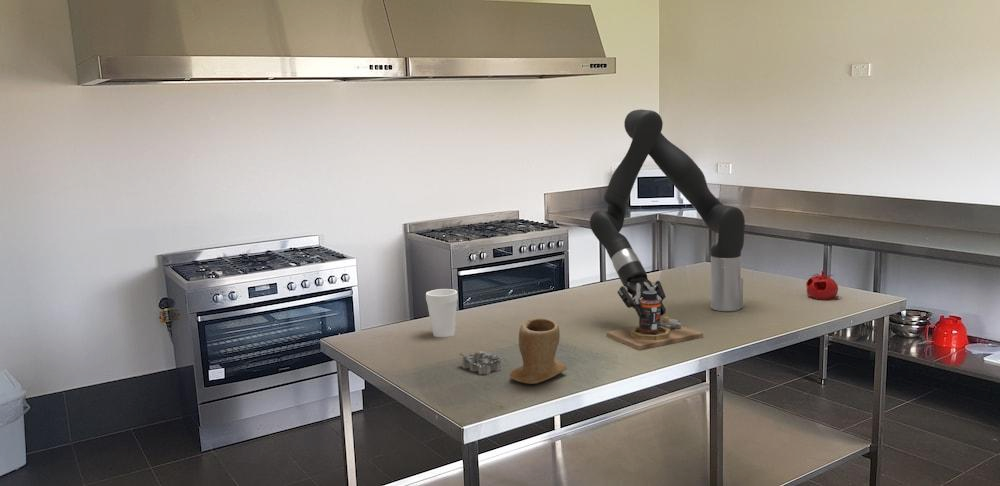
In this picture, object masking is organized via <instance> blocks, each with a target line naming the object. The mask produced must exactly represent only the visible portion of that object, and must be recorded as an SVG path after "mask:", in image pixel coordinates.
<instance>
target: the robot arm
mask: <svg viewBox="0 0 1000 486" xmlns="http://www.w3.org/2000/svg"><path fill="white" fill-rule="evenodd" d="M663 123H664V122H663V119H662V117H661V115H660V114H659V113H658V112H656V111H655V110H650V109H641V108H640V109H635V110H632V111H630V112H629V113H628V114H626V117H625V119H624V130H625V132H626V134H627V135H628V137H630V139H631V142H630V146H629V148H628V150H627V152H626V154H625V156H624V157H623V159H622V160H621V162H620V163H619V164H618V166H617V167H616V169H615V170H614V172H613V174H612V175H611V178H610V179H609V183H608V185H607V188H606V191H605V193H604V197H603V200H604V202H605V203H606V204H607V209H606V211H605V210H597V211H595V212H593V213H592V214H591V215H590V217H589V225H590V229H591V232H592V234H593V235H594V236H595V238H596V239H597V240H598V241H599V243H600V244H601V246H603V248H605V250H606V252H607V254H608V256H609V258H610V260H611V262H612V265H613V268H614V270H615V272H616V274H617V276H618V278H619V279H620V281H621V284H622V286H620V287H619V289H618V290H617V294H618V296H619V297H620V299H621V301H622V302H623V303H624V304H625V306H626V307H627V308H628V309H630V308H633V309H634V310H635V312H636V314H637V316H638V317H640V318H641V319H644V318H645V317H646V316H647V315H646V312H645V311H644V309H643V307H642V305H641V304H640V300H641V299H642V298H643V292H644V291H656V292H657V299H659V300H660V303H661V305H660V307H661V317H664V315H665V314H666V307H665V305H664V303H663V301H664V300H665V299H666V297H667V296H666V293H665V292H664V288H663V285H662V283H661V281H660V280H656V281H655V282H651V281H650V279H648V274H647V272H646V269H645V268H644V266H643V264H642V262H641V260H640V259H639V257H638V255H637V254H636V252H635V251H634V249H633V247H632V245H631V244H630V242H629V240H628V239H627V237H626V236H625V235H624V234H622V233H621V230H622V228H623V226H624V222H625V217H626V209H627V208H626V207H627V202H628V200H629V198H630V194H631V192H632V190H633V188H634V185H635V182H636V180H637V177H638V175H639V173H640V171H641V169H642V167H643V166H644V163H645V161H646V160H647V158H648V156H650V158H651V159H652V160H653V161H654V163H655V164H656V166H657V168H659V169H660V170H661V172H662V173H663V174H664V175H665V177H666V178H667V179H668V181H670V183H672V185H673V186H674V187H675V188H676V189H677V191H679V192H680V193H681V194H682V196H683V197H684V198H685V199H686V200H687V201H688V202H689V203H690V204H691V205H692V207H693V208H694V209H695V210H696V211H697V213H698V215H699V216H700V217H701V219H702V220H703V222H704V223H705V225H706V226H707V227H708V229H710V230H711V231H712V232H713V233H715V234H718V238H717V243H716V244H715V245H711V248H710V309H711V310H714V311H718V312H735V311H739V310H741V309H742V308H744V279H743V278H742V274H741V272H742V269H741V268H742V266H741V265H742V262H741V261H742V249H743V248H744V243H745V228H746V223H745V215H744V213H743V211H742V209H740V208H739V207H736V206H732V205H727V204H723V203H722V202H721V201H720V200H718V198H716V196H715V195H714V194H713V193H712V192H711V190H710V188H709V187H708V184H707V180H706V179H707V178H706V176H705V174H704V173H703V171H702V169H701V168H700V167H699V166H698V164H697V163H696V162H695V161H694V160H693V159H692V158H691V156H689V155H688V154H687V153H686V152H684V150H682V149H681V148H679V147H678V146H677V145H675V144H674V143H672V142H671V141H670V140H668V139H667V138H666V136H664V134H663V133H662V130H663V125H664V124H663Z"/></svg>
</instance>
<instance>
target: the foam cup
mask: <svg viewBox="0 0 1000 486" xmlns="http://www.w3.org/2000/svg"><path fill="white" fill-rule="evenodd" d="M458 300H459V294H458V290H456V289H451V288H437V289H433V290H429V291H426V293H425V302H426V303H427V310H428V315H429V320H430V325H431V329H432V334H433V337H435V338H450V337H452V336H454V335H455V333H456V319H457V318H456V317H457V308H458V307H457V306H458V305H457V304H458Z"/></svg>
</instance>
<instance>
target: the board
mask: <svg viewBox="0 0 1000 486" xmlns="http://www.w3.org/2000/svg"><path fill="white" fill-rule="evenodd" d="M605 335H606V337H607V338H609V339H612V340H614V341H616V342H619V343H622V344H623V345H626V346H628V347H631V348H633V349H636V350H638V351H642V350H647V348H648V349H652V348H658V347H662V345H663V346H666V345H667V346H668V345H672V344H677V343H681V342H687V341H691V340H696V339H702V338H704V333H703V332H702V331H698V330H695V329H692V328H689V327H688V326H687V327H686V326H685V325H684V326H683V325H682V323H681V322H680V319H676V318H670V316H661V328H660V331H659V332H656V333H644V332H642V331H640V329H639V325H638V326H632V327H627V328H623V329H617V330H616V329H615V330H613V331H607V332H606V334H605Z"/></svg>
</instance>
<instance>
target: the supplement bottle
mask: <svg viewBox="0 0 1000 486" xmlns="http://www.w3.org/2000/svg"><path fill="white" fill-rule="evenodd" d="M640 304H641V305H642V307H643V309H644V311H645V312H646V315H647V316H646V317H645V318H644V319H641V318H640V317H639V316H638V317H639V318H638V319H639V320H638V323H639V324H638V326H639V329H640V331H642V332H644V333H656V332H659V331H660V328H661V318H662V316H661V307H660V305H661V303H660V300H659V299H657V292H656V291H644V292H643V298H640Z"/></svg>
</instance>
